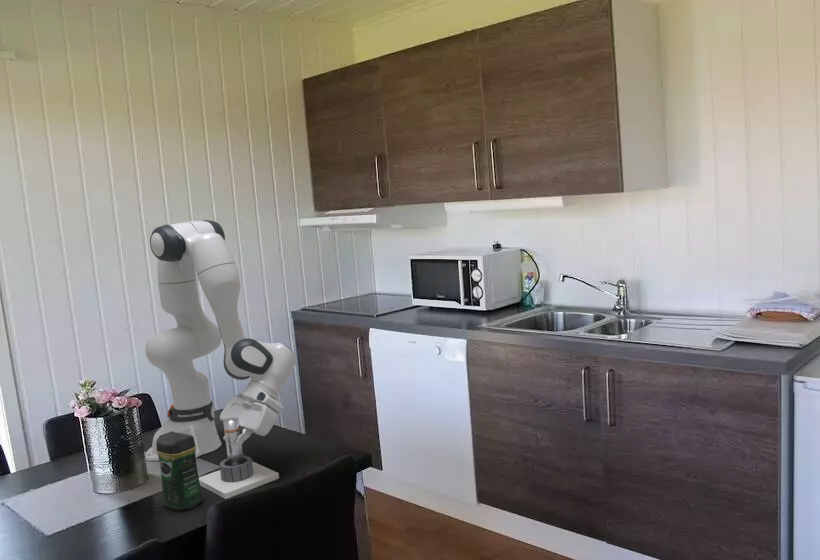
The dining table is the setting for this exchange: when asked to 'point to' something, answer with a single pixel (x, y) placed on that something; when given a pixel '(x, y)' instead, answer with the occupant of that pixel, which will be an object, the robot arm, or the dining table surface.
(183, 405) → the robot arm
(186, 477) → the coffee jar
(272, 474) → the collar plate
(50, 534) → the dining table surface
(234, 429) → the silver peg
